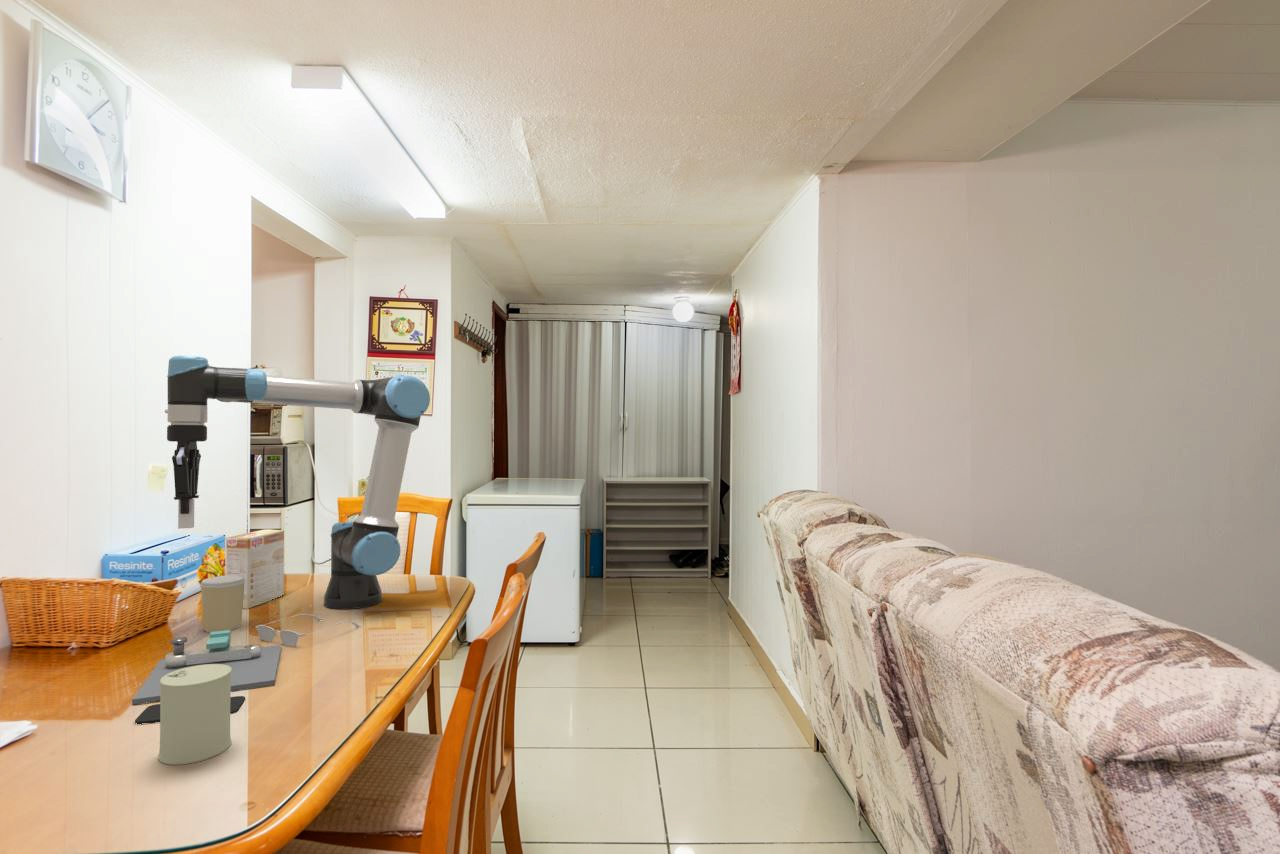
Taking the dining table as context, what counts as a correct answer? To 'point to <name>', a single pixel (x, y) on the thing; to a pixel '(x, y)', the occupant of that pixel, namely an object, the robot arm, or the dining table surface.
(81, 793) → the dining table surface
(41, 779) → the dining table surface
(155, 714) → the phone
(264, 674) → the board
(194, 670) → the can
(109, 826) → the dining table surface
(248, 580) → the coffeecake box
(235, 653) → the link
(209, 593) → the coffee cup
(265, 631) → the eyeglasses
